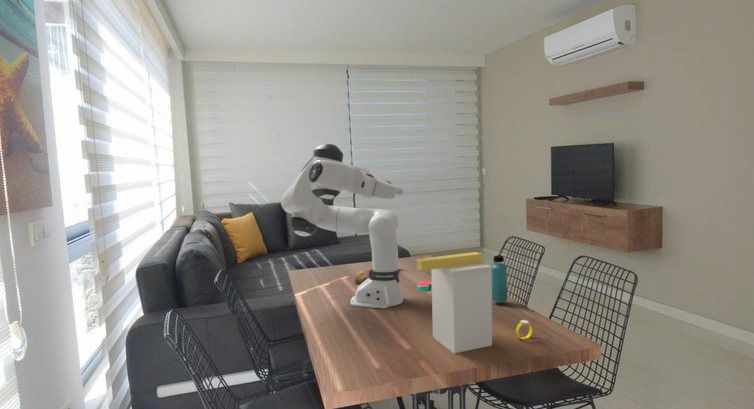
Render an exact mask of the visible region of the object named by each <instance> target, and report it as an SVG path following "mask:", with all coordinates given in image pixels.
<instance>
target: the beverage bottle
mask: <svg viewBox="0 0 754 409" xmlns="http://www.w3.org/2000/svg"><path fill="white" fill-rule="evenodd" d="M493 262H495V263H493V264H492V265H491V266H492V302H495V303H506V302H507V301H508V279H507V278H508V276H507V275H508V274H507V266H506V265H505V263H503V262H505V257H504V255H494V256H493Z"/></svg>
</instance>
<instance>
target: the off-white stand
mask: <svg viewBox="0 0 754 409" xmlns="http://www.w3.org/2000/svg"><path fill="white" fill-rule="evenodd" d="M430 271H431V281H432V287H431V304H432V305H431V306H432V307H431V308H432V309H431V310H432V312H431V315H432V316H431V317H432V338H433V339H434V340H435V341H437V342H438V343H440V344H441V345H442V346H444V347H445V348H447V350H449V351H450V352H452V353H453V354H459V353H463V352H467V351H468V352H469V351H472V350H476V349H481V348H482V349H483V348H487V347H491V346H493V301H492V265H490V264H486V263H484V262H482V263H477V264H470V265H462V266H455V267H447V268H440V269H432V270H430Z"/></svg>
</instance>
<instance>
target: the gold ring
mask: <svg viewBox="0 0 754 409" xmlns="http://www.w3.org/2000/svg"><path fill="white" fill-rule="evenodd" d="M522 326H528V327H529V328H528V329H529V331H528V334H527V335H525V336H520V329H521V327H522ZM533 332H534V329H533V325H532V324H531V323H530V322H529V321H528V320H525V319H522V320H519V323H518V324H517V326H516V328H515V335H516V337H517V339H520V340H522V341H523V340H529V339H530V338H531V337H532V335H533Z"/></svg>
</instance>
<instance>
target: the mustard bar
mask: <svg viewBox="0 0 754 409" xmlns="http://www.w3.org/2000/svg"><path fill="white" fill-rule="evenodd" d="M477 263H483V254H482V253H481V252H477V251H474V252H465V253H456V254H455V253H454V254H448V255H440V256H438V255H437V256H432V257H425V258H417V259H416V269H417V270H419V271H421V272H422V271H429V270H430V271H431V270H432V269H440V268H447V267H455V266H462V265H470V264H477Z"/></svg>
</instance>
